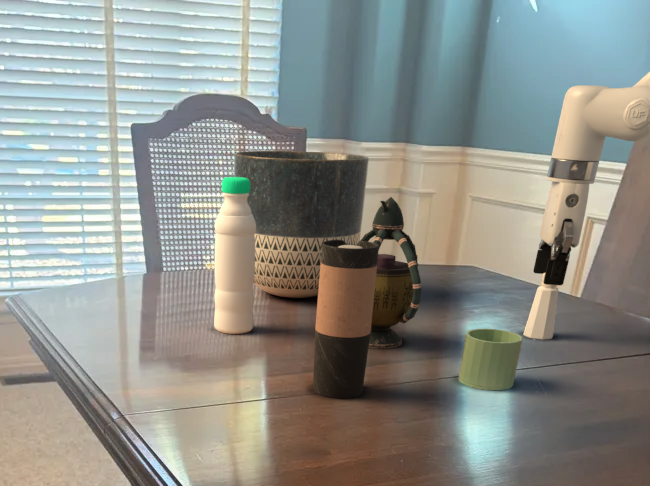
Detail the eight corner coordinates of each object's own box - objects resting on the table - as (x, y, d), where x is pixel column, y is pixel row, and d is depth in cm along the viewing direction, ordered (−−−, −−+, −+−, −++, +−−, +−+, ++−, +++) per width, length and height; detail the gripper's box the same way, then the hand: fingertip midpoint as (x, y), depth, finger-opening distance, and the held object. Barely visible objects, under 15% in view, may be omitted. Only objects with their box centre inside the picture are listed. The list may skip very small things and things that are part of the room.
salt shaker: (519, 331, 143) (531, 269, 138) (548, 332, 143) (562, 270, 138) (527, 339, 138) (540, 275, 133) (557, 340, 138) (572, 276, 133)
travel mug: (333, 402, 107) (346, 250, 97) (300, 387, 112) (309, 241, 102) (375, 393, 110) (392, 246, 100) (341, 379, 116) (353, 237, 106)
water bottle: (206, 328, 139) (206, 176, 127) (235, 322, 144) (238, 175, 131) (231, 337, 135) (233, 180, 122) (261, 330, 139) (266, 178, 127)
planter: (213, 285, 172) (214, 150, 158) (319, 279, 181) (328, 151, 168) (262, 313, 151) (268, 159, 137) (379, 304, 160) (395, 159, 147)
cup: (508, 375, 119) (517, 330, 116) (517, 392, 112) (526, 344, 109) (456, 372, 120) (463, 327, 117) (461, 388, 113) (469, 341, 110)
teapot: (346, 354, 127) (360, 202, 116) (333, 317, 149) (343, 186, 137) (419, 356, 127) (440, 204, 116) (395, 319, 149) (411, 187, 137)
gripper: (609, 177, 120) (580, 291, 128) (583, 169, 134) (559, 271, 143) (559, 175, 120) (534, 287, 129) (539, 166, 135) (517, 268, 144)
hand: (547, 278), depth 136 cm, fingers open, 9 cm apart
